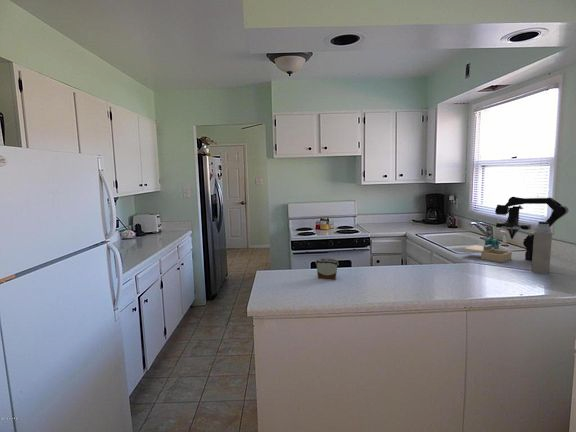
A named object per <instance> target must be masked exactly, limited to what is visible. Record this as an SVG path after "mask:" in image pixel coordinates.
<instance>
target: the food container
mask: <svg viewBox="0 0 576 432" xmlns="http://www.w3.org/2000/svg"><path fill="white" fill-rule="evenodd" d="M314 264H315V265H316V274H317V279H318V280H325V281H326V280H328V281H336V280H337V270H338V266H340V265H339V261H338V259H334V258H330V257H329V258H327V257H325V258H323V257H322V258H318V259H316V260H315V262H314Z"/></svg>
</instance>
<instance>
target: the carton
mask: <svg viewBox="0 0 576 432" xmlns="http://www.w3.org/2000/svg"><path fill="white" fill-rule="evenodd" d="M512 252H513V251H508V250H502V249H492V250H489V251H486V252H480V253H481V254H480V260H482V261H486V262H487V261H488V262H491V263H498V264H503V263H506V262H508V261H511V260H512V255H513V253H512Z"/></svg>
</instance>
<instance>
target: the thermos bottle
mask: <svg viewBox="0 0 576 432" xmlns="http://www.w3.org/2000/svg"><path fill="white" fill-rule="evenodd" d="M537 223H538V224H537V227H536V228H535V230H534V232H533V234H534V241H533V255H532V260H531V272H534V273H538V274H549V273H550V268H551V267H550V266H551V265H550V264H551V255H552V254H551V253H552V241H553V240H552V239H553V232H552V228H551V227H550V228H549V222H546V221H538V222H537Z"/></svg>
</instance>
